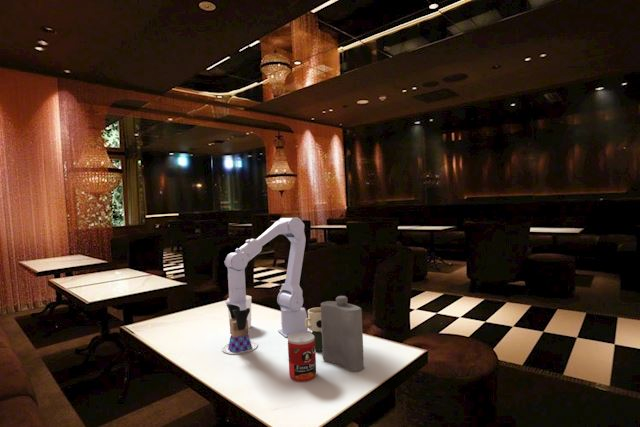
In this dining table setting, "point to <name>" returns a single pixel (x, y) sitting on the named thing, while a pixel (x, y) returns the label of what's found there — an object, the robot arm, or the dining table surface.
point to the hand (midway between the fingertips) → (238, 326)
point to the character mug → (315, 326)
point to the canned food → (302, 356)
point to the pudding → (239, 344)
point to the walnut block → (234, 328)
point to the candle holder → (248, 305)
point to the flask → (342, 334)
